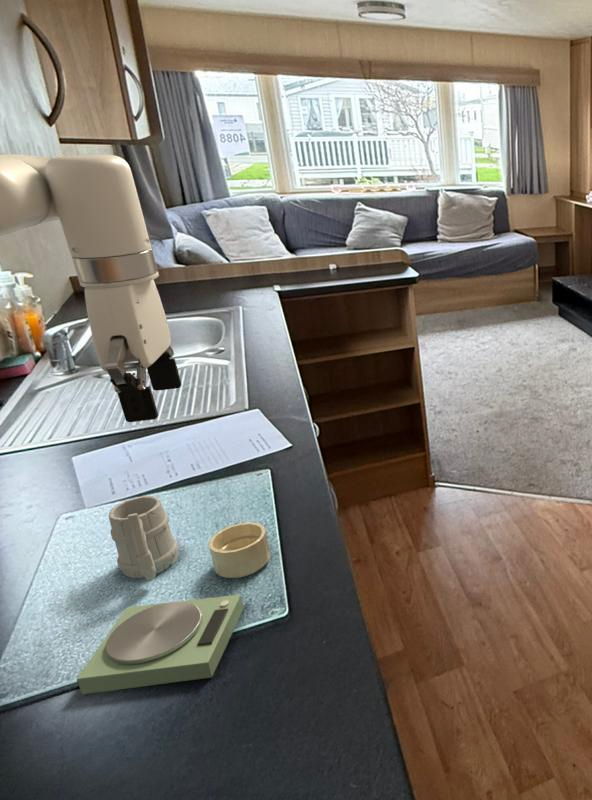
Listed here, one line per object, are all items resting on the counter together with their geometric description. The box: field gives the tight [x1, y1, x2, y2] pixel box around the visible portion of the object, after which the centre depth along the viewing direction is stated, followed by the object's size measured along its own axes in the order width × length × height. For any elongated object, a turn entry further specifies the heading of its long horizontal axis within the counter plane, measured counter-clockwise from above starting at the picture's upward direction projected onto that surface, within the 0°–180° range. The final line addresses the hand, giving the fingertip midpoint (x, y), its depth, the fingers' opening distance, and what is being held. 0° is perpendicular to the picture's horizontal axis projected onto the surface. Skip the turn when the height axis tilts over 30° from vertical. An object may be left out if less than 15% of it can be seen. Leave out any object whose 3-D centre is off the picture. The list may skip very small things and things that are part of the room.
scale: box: [76, 594, 245, 695], centre depth 82 cm, size 14×12×3 cm
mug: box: [108, 495, 180, 582], centre depth 94 cm, size 8×12×12 cm, turn 35°
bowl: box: [208, 521, 272, 579], centre depth 97 cm, size 7×7×5 cm
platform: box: [106, 601, 202, 664], centre depth 81 cm, size 10×10×1 cm
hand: (156, 403), depth 81 cm, fingers open, 9 cm apart
